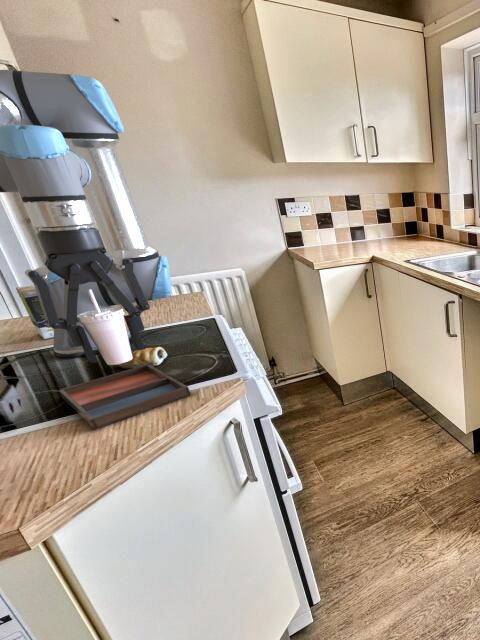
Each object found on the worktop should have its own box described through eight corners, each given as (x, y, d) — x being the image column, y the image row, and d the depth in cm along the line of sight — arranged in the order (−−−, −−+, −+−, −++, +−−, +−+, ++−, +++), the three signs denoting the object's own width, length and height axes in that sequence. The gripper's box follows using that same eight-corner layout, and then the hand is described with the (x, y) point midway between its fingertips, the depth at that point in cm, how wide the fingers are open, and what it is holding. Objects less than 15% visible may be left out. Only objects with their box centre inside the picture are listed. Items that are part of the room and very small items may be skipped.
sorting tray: (62, 398, 87) (58, 389, 86) (151, 371, 98) (148, 363, 97) (94, 429, 75) (90, 420, 74) (191, 395, 86) (187, 386, 86)
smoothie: (91, 370, 76) (58, 295, 70) (104, 358, 81) (73, 287, 76) (136, 363, 78) (107, 290, 73) (145, 351, 84) (119, 282, 78)
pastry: (111, 372, 98) (105, 357, 97) (126, 361, 104) (120, 347, 103) (159, 366, 101) (154, 351, 100) (170, 356, 107) (166, 342, 106)
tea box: (102, 320, 138) (84, 275, 132) (111, 325, 132) (92, 279, 127) (36, 334, 126) (14, 285, 121) (43, 340, 121) (19, 290, 115)
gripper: (-17, 236, 61) (50, 378, 70) (145, 223, 76) (184, 341, 85) (-25, 233, 65) (40, 368, 74) (131, 222, 80) (170, 335, 89)
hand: (117, 354), depth 79 cm, fingers closed on smoothie, 6 cm apart
